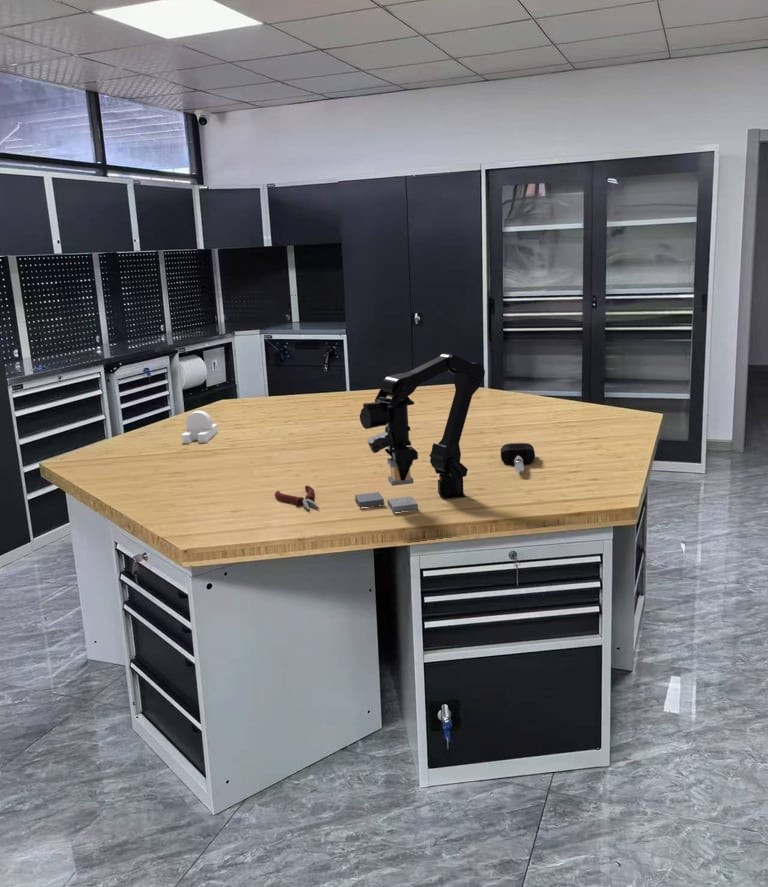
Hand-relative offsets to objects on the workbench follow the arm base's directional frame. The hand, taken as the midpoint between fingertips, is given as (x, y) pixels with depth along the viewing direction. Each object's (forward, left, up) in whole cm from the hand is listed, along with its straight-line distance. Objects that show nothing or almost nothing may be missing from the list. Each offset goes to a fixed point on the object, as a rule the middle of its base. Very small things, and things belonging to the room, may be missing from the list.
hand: (400, 477), depth 228 cm
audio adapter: (-44, -26, -9) cm, 52 cm away
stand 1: (+8, -8, -9) cm, 14 cm away
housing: (0, 0, -1) cm, 1 cm away
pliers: (+28, -17, -10) cm, 34 cm away
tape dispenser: (+56, -114, -10) cm, 127 cm away
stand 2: (0, 0, -9) cm, 9 cm away
